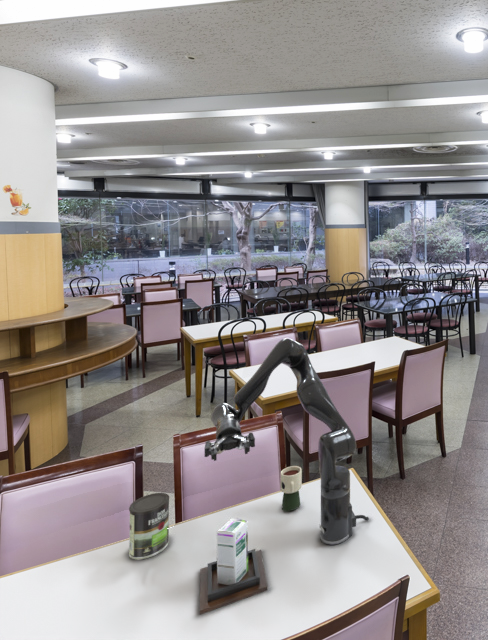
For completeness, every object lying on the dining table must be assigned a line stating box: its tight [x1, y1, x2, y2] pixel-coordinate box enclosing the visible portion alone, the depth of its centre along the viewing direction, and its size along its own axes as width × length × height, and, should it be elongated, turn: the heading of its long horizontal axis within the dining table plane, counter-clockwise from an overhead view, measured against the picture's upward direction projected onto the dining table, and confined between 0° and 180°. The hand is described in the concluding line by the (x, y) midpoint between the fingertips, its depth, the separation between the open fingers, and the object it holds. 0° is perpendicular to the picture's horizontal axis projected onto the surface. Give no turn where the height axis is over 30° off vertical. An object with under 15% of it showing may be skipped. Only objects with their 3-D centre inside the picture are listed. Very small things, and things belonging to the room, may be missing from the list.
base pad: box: [199, 548, 268, 615], centre depth 119 cm, size 16×16×3 cm
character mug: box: [280, 465, 303, 512], centre depth 153 cm, size 11×7×13 cm, turn 22°
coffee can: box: [128, 492, 170, 561], centre depth 133 cm, size 10×10×14 cm
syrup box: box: [216, 518, 249, 585], centre depth 119 cm, size 6×6×14 cm
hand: (231, 454), depth 130 cm, fingers open, 8 cm apart
